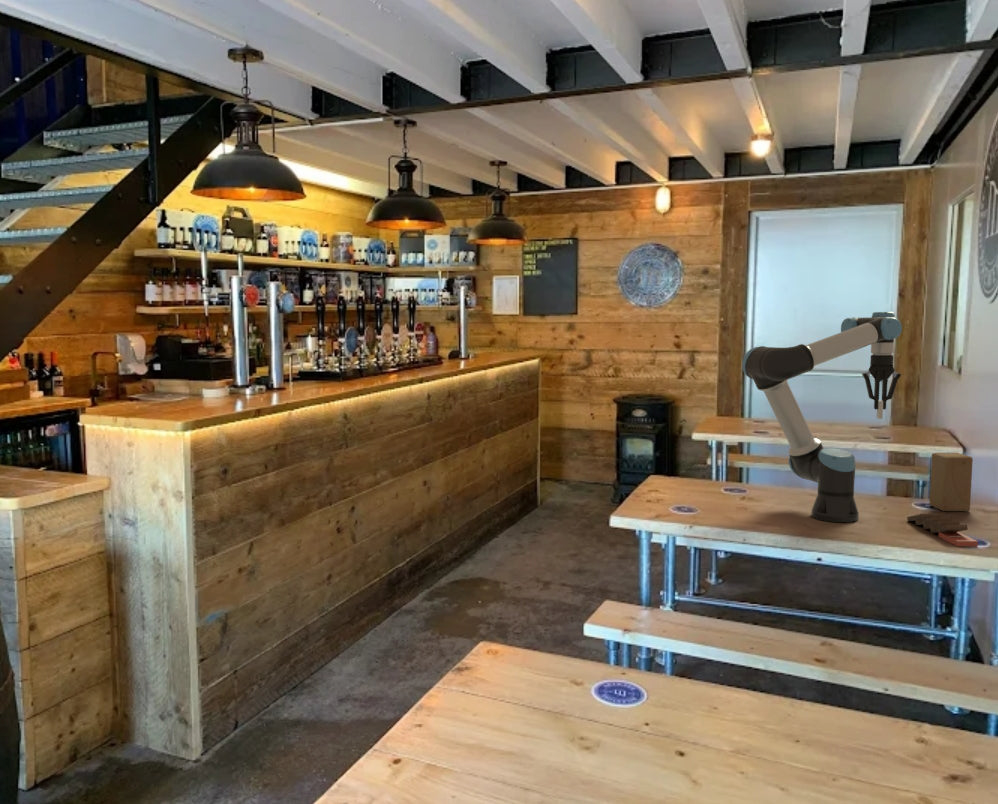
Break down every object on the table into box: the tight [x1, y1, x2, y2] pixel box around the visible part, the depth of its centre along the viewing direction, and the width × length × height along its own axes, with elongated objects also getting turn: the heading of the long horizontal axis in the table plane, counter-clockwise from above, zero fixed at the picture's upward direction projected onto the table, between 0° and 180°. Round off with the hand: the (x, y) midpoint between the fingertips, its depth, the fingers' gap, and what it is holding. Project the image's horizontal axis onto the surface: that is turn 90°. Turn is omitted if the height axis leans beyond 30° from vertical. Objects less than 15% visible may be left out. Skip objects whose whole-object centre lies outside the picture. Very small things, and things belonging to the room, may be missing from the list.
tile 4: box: [929, 524, 968, 534], centre depth 248 cm, size 2×6×11 cm
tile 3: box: [922, 520, 961, 530], centre depth 253 cm, size 2×6×11 cm
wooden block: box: [929, 452, 974, 512], centre depth 284 cm, size 10×10×20 cm
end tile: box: [938, 531, 979, 547], centre depth 244 cm, size 2×6×11 cm
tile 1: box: [906, 513, 943, 522], centre depth 263 cm, size 2×6×11 cm
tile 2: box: [915, 516, 952, 526], centre depth 258 cm, size 2×6×11 cm
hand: (879, 418), depth 290 cm, fingers closed
